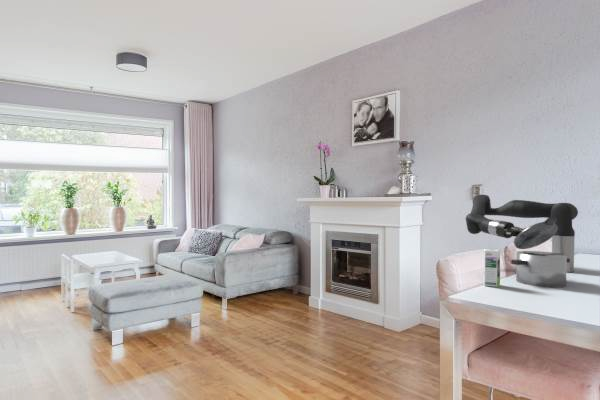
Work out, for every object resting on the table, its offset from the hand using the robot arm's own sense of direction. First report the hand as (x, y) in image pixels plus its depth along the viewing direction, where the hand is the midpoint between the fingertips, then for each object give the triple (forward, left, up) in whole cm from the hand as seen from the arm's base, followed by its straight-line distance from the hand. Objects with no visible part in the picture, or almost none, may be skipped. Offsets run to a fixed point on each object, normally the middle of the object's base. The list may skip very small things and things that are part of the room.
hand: (534, 235), depth 174 cm
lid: (+3, +2, 0) cm, 3 cm away
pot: (+3, +4, -19) cm, 20 cm away
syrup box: (+26, -5, -20) cm, 33 cm away
